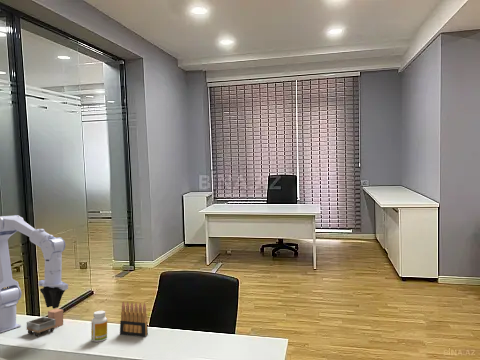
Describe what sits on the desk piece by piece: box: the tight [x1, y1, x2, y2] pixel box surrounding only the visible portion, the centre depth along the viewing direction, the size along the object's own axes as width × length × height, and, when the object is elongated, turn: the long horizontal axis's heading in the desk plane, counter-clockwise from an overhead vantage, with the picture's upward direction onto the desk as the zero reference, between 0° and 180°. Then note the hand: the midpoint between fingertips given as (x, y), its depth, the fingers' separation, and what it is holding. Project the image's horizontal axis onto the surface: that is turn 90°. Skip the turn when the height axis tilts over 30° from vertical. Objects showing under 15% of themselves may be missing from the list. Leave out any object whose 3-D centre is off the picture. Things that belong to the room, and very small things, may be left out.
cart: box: [26, 316, 56, 337], centre depth 144 cm, size 7×7×4 cm
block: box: [47, 308, 64, 329], centre depth 152 cm, size 4×4×6 cm
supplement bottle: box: [90, 310, 108, 343], centre depth 137 cm, size 5×5×10 cm
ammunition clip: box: [119, 301, 149, 338], centre depth 142 cm, size 11×2×12 cm, turn 76°
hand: (52, 307), depth 141 cm, fingers open, 3 cm apart
